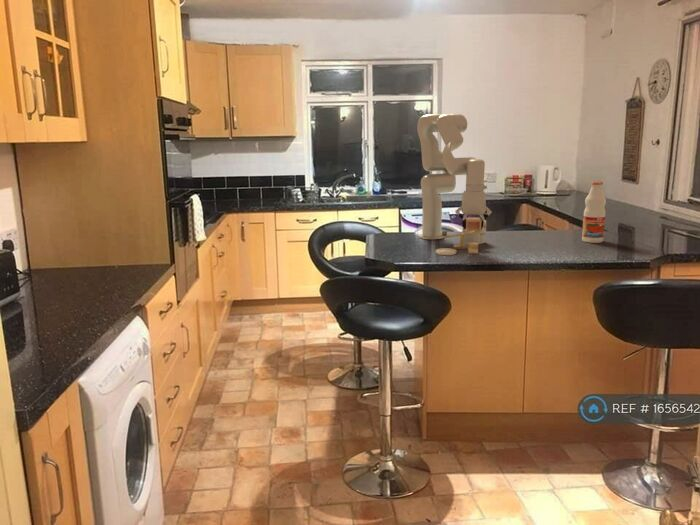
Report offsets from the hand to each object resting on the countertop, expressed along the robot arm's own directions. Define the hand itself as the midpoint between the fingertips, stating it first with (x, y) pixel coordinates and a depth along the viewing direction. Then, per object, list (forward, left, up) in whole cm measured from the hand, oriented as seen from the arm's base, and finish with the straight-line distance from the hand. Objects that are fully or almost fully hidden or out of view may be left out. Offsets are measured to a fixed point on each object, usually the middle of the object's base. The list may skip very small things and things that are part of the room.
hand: (472, 228), depth 256 cm
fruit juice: (-22, +59, -11) cm, 64 cm away
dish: (+3, -12, -10) cm, 16 cm away
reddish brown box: (0, 0, -1) cm, 1 cm away
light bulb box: (-18, +3, -11) cm, 22 cm away
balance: (-8, -4, -10) cm, 14 cm away
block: (+1, 0, -11) cm, 11 cm away
